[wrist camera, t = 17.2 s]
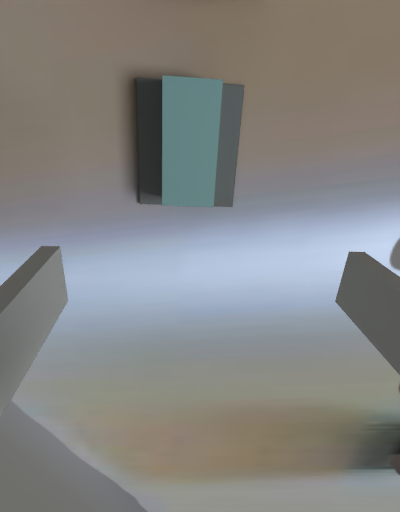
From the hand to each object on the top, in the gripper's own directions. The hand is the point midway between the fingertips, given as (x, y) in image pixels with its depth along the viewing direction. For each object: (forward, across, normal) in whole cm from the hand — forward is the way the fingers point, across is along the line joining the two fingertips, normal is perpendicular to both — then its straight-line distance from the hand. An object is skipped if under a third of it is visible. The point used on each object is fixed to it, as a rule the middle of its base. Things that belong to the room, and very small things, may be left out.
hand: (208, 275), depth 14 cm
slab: (+26, 0, +4) cm, 27 cm away
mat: (+27, 0, +3) cm, 27 cm away
